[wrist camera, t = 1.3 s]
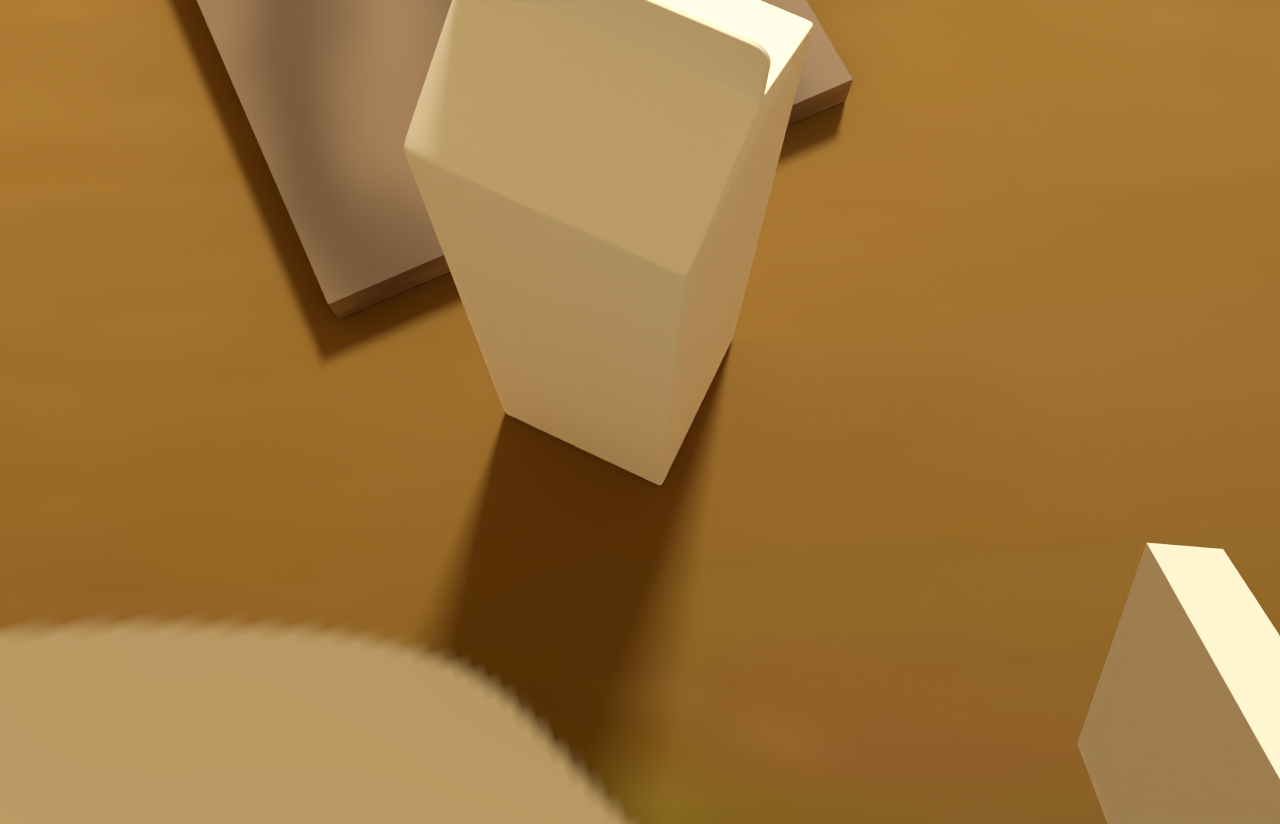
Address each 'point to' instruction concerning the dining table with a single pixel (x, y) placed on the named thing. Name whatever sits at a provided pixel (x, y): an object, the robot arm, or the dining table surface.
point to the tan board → (376, 126)
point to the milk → (605, 200)
